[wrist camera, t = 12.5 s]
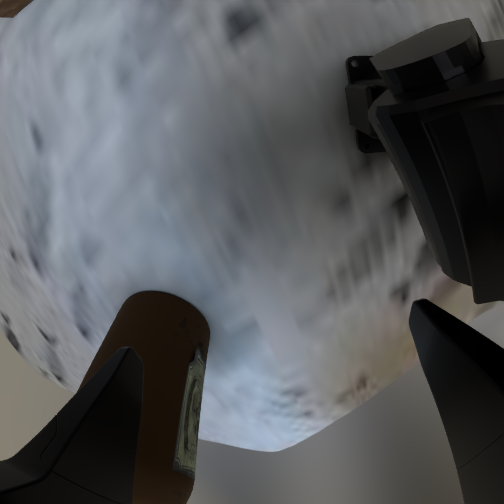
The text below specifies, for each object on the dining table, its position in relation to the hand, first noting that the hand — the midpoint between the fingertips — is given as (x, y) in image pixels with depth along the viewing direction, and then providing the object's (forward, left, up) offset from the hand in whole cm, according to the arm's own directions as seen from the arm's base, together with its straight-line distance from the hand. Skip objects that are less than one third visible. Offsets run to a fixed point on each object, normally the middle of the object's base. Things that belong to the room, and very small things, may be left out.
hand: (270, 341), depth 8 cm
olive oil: (+12, +12, -13) cm, 22 cm away
